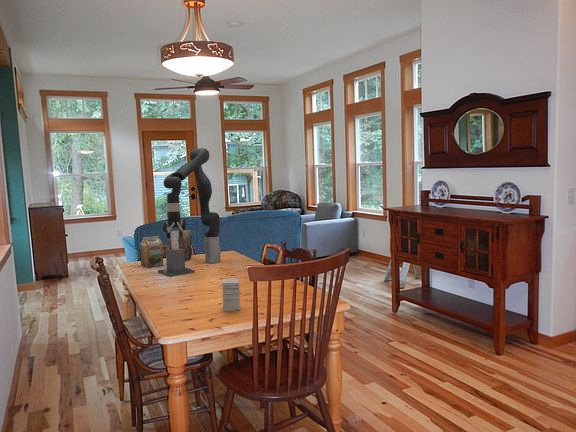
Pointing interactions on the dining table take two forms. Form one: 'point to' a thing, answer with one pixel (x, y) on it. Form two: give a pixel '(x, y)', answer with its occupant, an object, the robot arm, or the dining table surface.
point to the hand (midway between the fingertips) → (174, 238)
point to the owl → (186, 243)
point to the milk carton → (151, 252)
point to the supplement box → (231, 295)
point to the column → (174, 240)
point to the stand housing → (175, 263)
